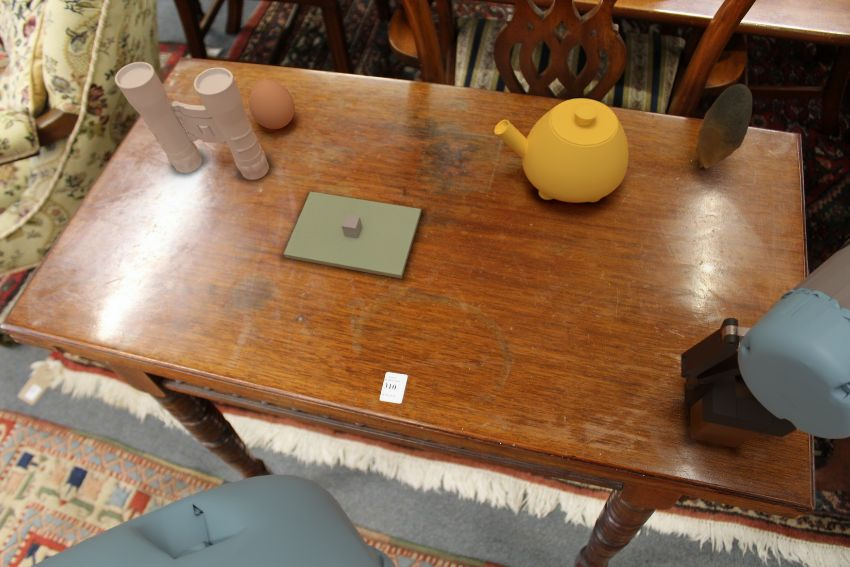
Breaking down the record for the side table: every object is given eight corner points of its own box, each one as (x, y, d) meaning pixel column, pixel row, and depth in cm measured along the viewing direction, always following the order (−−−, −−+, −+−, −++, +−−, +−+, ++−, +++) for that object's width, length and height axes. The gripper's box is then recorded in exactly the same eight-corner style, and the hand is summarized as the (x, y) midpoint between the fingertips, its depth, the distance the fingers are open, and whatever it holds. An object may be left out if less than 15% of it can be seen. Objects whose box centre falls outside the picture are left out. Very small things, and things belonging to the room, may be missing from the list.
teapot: (488, 212, 85) (493, 148, 73) (493, 137, 92) (498, 68, 81) (623, 220, 83) (650, 155, 71) (617, 142, 90) (641, 72, 79)
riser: (734, 448, 66) (766, 429, 59) (689, 438, 67) (716, 419, 60) (732, 392, 69) (762, 368, 62) (690, 384, 70) (715, 360, 63)
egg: (306, 127, 96) (293, 87, 89) (267, 145, 94) (251, 106, 87) (289, 102, 99) (275, 62, 92) (251, 119, 98) (234, 79, 90)
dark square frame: (782, 437, 58) (797, 429, 56) (701, 421, 60) (713, 412, 57) (776, 367, 62) (790, 357, 60) (701, 353, 63) (711, 342, 61)
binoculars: (275, 158, 93) (238, 68, 77) (265, 183, 90) (225, 95, 74) (179, 149, 95) (124, 60, 79) (167, 173, 92) (107, 86, 77)
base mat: (401, 278, 80) (399, 266, 77) (285, 257, 83) (278, 244, 80) (421, 212, 85) (420, 198, 82) (311, 195, 88) (306, 180, 85)
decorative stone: (684, 141, 90) (722, 63, 77) (724, 149, 89) (769, 71, 76) (678, 186, 85) (717, 112, 72) (719, 195, 84) (767, 121, 71)
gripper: (985, 296, 44) (822, 391, 64) (708, 252, 47) (635, 355, 67) (1010, 385, 41) (830, 456, 60) (709, 331, 44) (632, 415, 64)
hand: (727, 403), depth 64 cm, fingers closed on dark square frame, 8 cm apart
